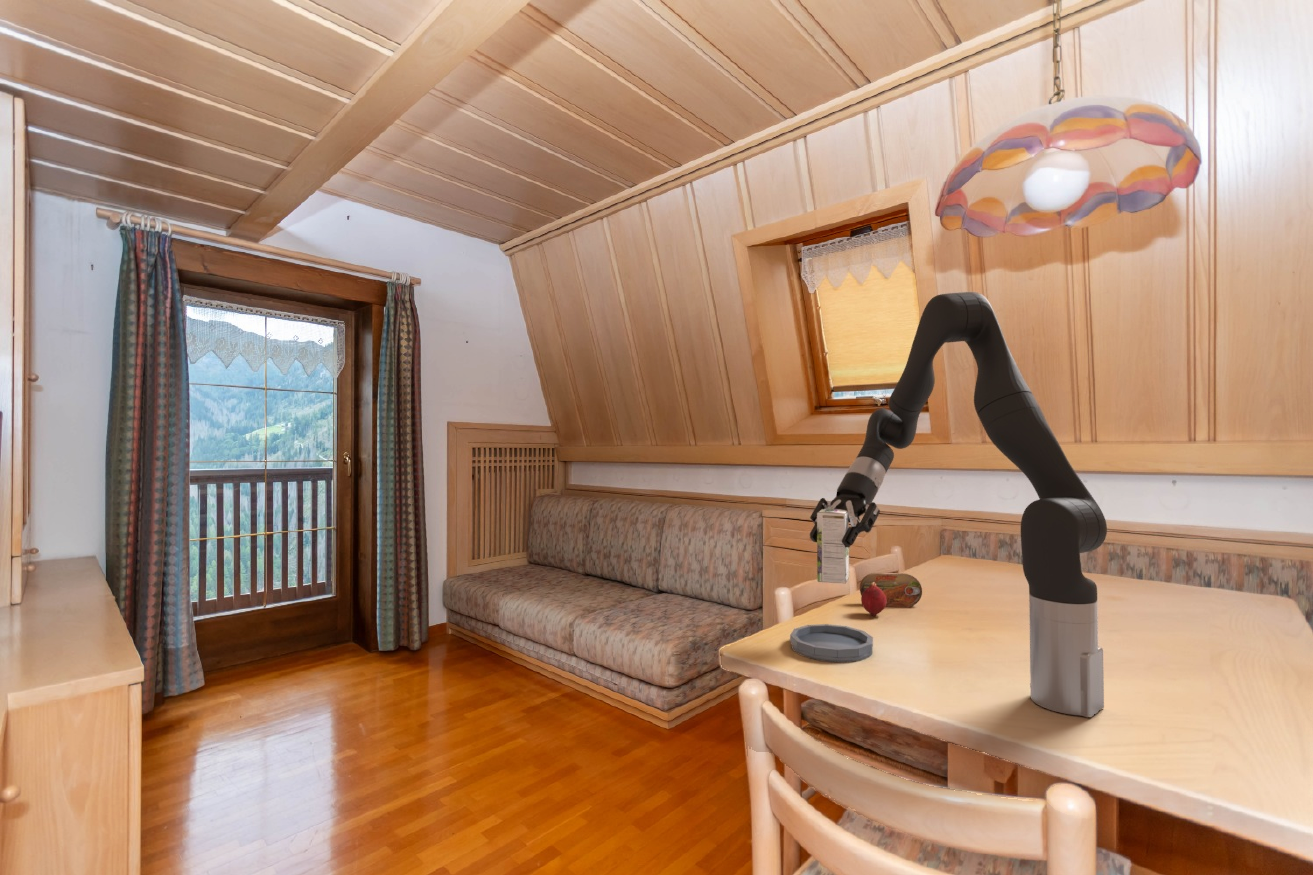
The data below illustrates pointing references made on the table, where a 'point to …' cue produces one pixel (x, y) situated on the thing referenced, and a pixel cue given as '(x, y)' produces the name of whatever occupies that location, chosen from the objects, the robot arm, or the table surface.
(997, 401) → the robot arm
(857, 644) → the dish
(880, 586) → the tin
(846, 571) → the juice carton
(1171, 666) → the table surface
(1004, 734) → the table surface
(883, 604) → the onion
